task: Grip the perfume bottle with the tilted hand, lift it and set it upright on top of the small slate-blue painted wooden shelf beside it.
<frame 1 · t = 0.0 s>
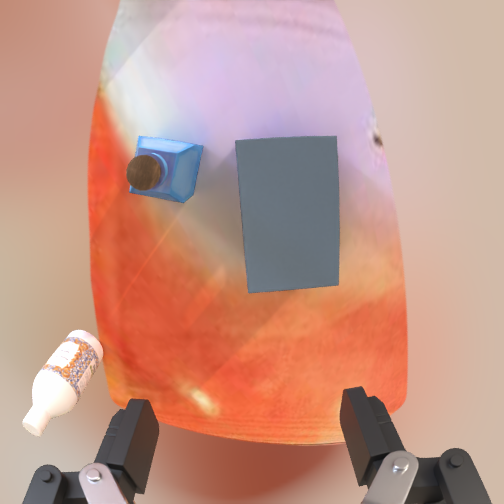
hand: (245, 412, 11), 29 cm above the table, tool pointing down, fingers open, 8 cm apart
perfume bottle: (174, 165, 37), on the table
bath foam: (86, 345, 45), on the table
shelf: (283, 204, 38), on the table
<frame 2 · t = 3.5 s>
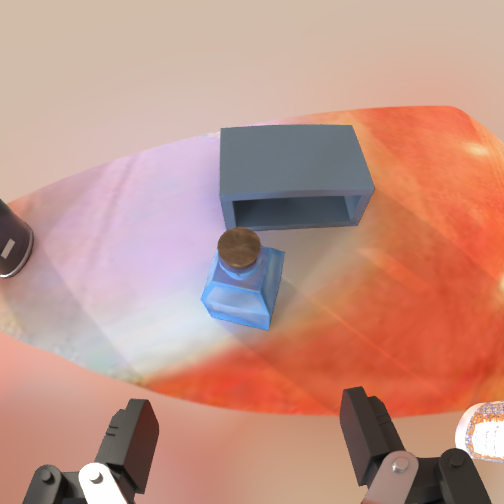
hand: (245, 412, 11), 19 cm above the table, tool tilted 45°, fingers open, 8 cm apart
perfume bottle: (246, 297, 34), on the table
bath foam: (473, 430, 25), on the table
shelf: (289, 195, 39), on the table
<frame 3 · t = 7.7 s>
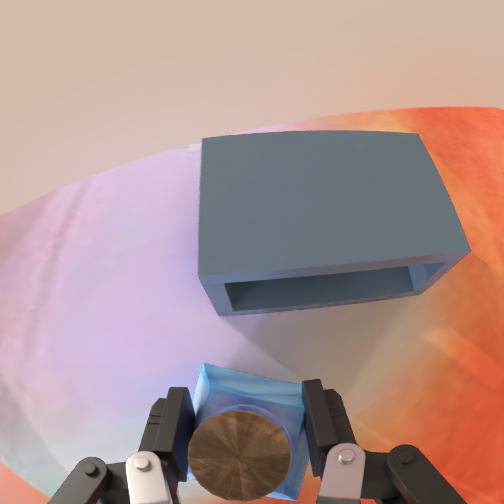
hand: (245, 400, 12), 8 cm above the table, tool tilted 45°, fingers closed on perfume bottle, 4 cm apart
perfume bottle: (254, 424, 19), on the table, touching gripper
shelf: (318, 246, 24), on the table
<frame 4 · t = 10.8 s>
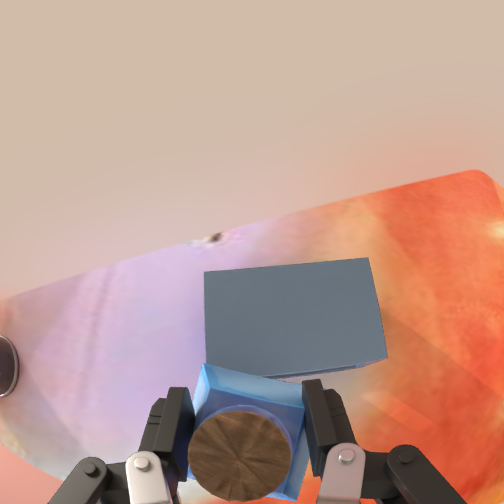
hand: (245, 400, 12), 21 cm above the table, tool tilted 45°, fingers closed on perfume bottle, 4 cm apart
perfume bottle: (254, 425, 19), point 12 cm above the table, touching gripper
shelf: (289, 333, 34), on the table
when the fingers open (16 cm above the table, at t = 14.0 s): perfume bottle stays where it is, resting on shelf.
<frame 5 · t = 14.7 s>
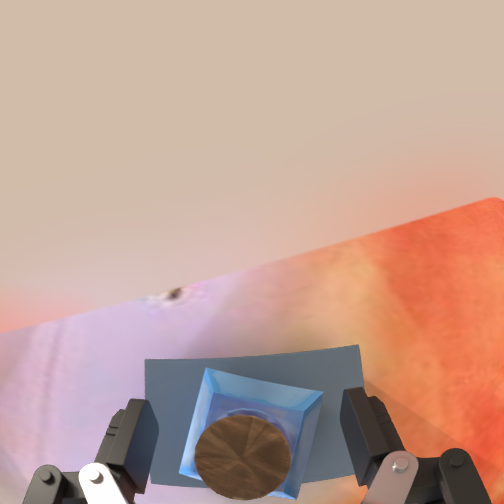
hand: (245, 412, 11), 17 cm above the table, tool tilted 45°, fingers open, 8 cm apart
perfume bottle: (254, 426, 19), point 7 cm above the table, touching shelf
shelf: (257, 417, 26), on the table
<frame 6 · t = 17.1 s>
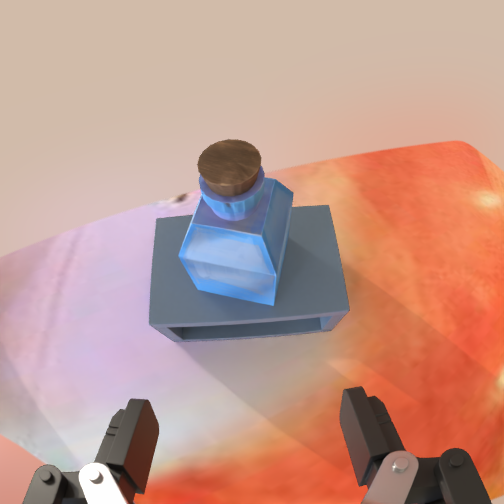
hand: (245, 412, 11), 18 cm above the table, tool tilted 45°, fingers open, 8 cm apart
perfume bottle: (244, 263, 26), point 7 cm above the table, touching shelf
shelf: (249, 291, 32), on the table
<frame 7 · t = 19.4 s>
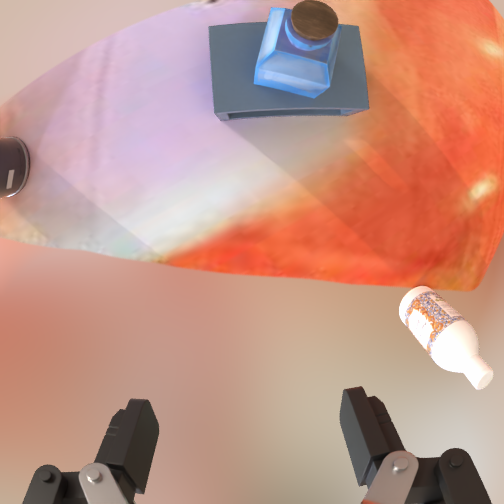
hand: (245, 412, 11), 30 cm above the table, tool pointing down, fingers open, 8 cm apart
perfume bottle: (290, 64, 27), point 7 cm above the table, touching shelf
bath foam: (415, 303, 44), on the table
shelf: (282, 78, 34), on the table
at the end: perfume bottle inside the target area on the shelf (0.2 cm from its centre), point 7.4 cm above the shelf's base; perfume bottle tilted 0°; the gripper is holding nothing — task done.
